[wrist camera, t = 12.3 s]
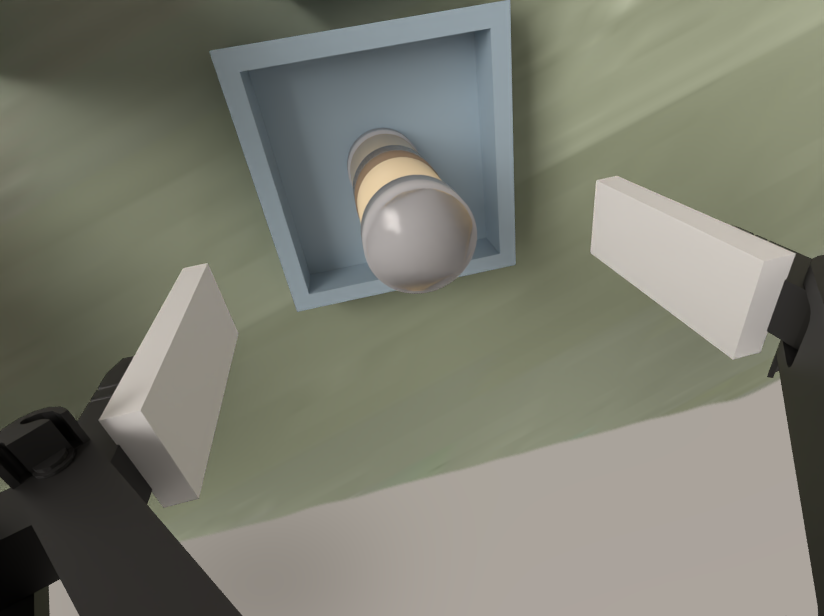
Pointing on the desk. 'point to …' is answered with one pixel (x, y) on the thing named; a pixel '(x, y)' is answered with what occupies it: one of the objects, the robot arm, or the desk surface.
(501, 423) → the desk surface
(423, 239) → the fuse
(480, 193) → the parts tray
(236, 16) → the desk surface
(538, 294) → the desk surface
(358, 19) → the desk surface
